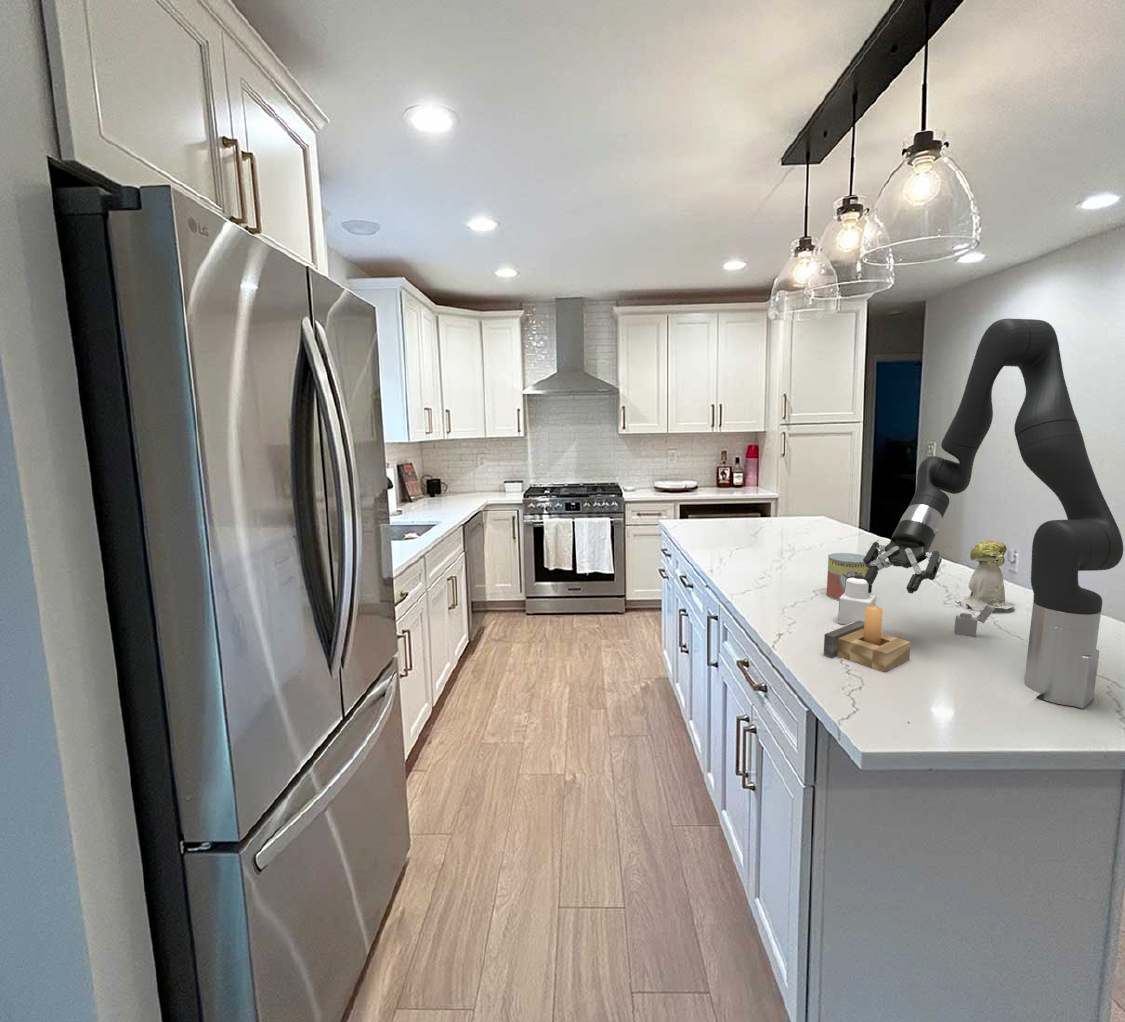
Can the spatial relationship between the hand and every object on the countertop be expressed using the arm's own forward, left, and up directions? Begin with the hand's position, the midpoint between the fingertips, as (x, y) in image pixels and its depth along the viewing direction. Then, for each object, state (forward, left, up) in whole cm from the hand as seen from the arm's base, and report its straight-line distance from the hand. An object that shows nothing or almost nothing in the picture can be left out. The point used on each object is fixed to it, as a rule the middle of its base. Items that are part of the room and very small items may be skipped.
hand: (888, 586), depth 121 cm
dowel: (0, +7, -13) cm, 15 cm away
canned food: (+27, -33, -16) cm, 46 cm away
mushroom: (0, -54, -16) cm, 57 cm away
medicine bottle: (+14, -14, -16) cm, 26 cm away
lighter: (-7, -27, -16) cm, 32 cm away
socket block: (-1, +7, -14) cm, 16 cm away
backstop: (-3, +7, -16) cm, 17 cm away
